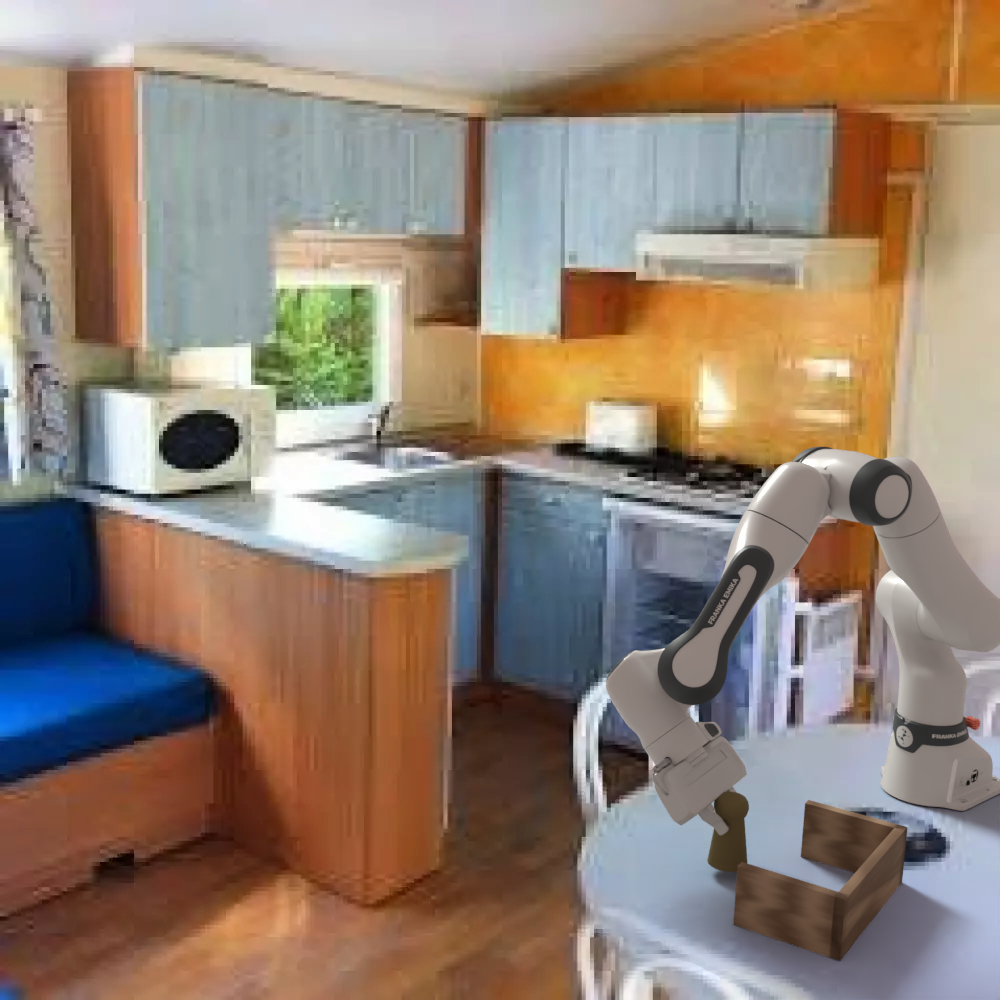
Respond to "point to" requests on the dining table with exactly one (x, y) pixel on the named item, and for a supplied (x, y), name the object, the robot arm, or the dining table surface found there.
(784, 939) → the open-fronted crate
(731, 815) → the olive brown pawn
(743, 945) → the dining table surface
